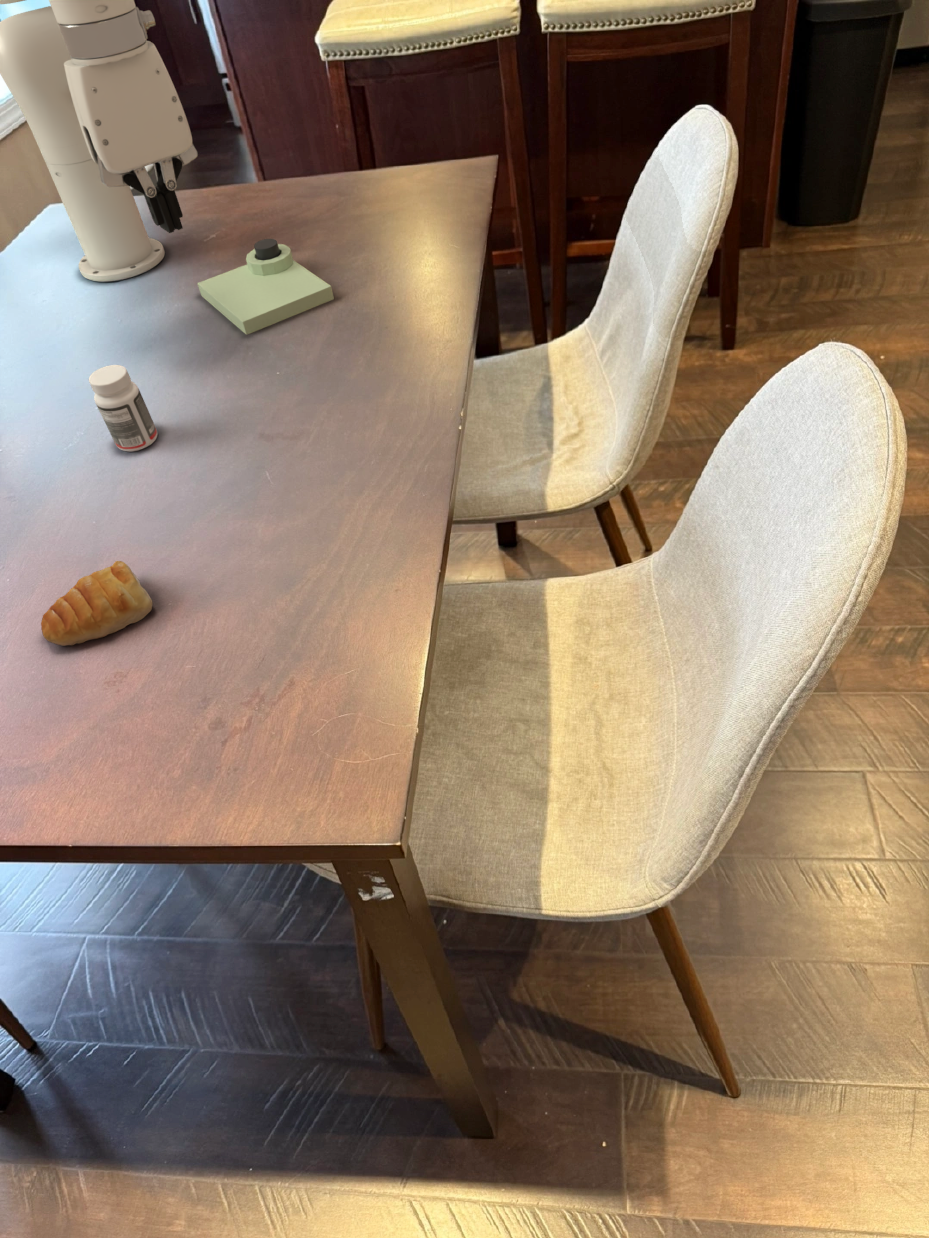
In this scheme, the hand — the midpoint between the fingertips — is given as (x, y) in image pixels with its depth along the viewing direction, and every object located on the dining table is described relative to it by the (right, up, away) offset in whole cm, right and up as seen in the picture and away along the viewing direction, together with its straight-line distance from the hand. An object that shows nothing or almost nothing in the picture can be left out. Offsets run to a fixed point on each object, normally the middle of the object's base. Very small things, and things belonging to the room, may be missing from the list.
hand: (171, 227), depth 97 cm
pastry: (+1, -44, -19) cm, 48 cm away
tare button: (+6, +6, +22) cm, 23 cm away
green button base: (+6, 0, +20) cm, 21 cm away
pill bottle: (-4, -24, 0) cm, 24 cm away
